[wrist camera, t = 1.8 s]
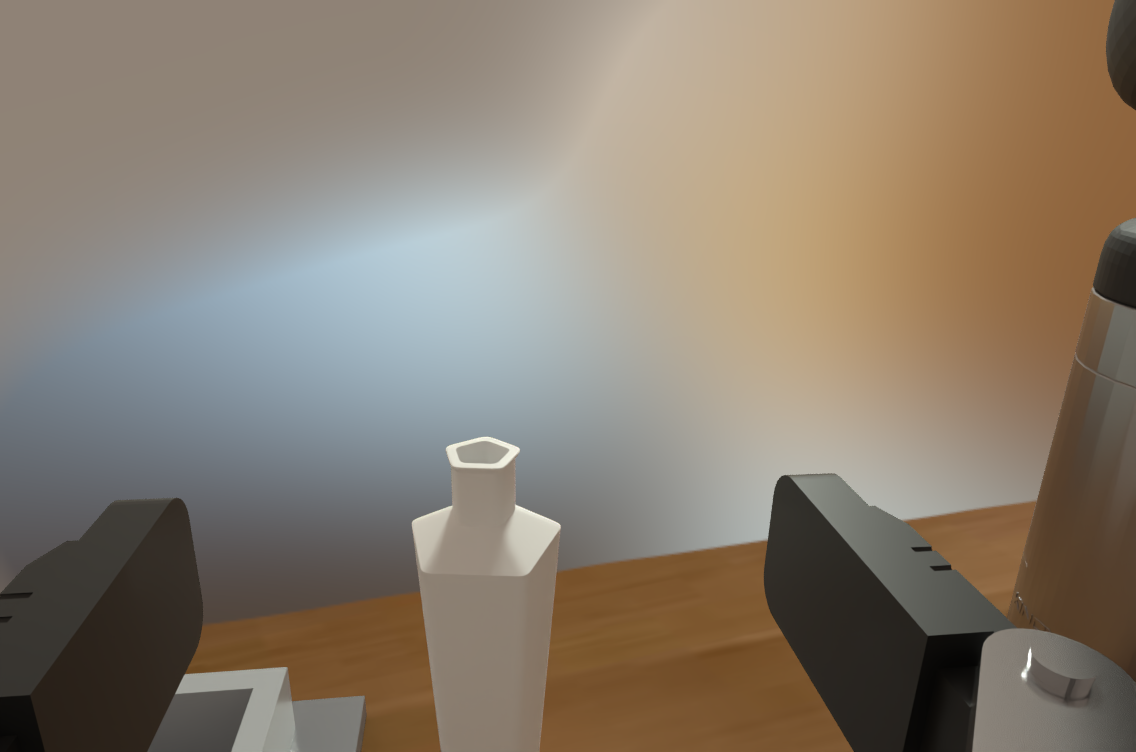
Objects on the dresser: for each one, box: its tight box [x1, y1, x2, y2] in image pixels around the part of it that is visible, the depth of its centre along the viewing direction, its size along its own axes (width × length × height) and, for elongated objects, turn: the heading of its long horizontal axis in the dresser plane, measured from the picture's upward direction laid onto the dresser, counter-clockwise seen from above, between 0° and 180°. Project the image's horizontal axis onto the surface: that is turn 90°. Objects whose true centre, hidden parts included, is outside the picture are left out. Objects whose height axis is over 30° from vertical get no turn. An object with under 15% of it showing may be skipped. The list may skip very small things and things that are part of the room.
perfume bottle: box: [412, 437, 561, 752], centre depth 25 cm, size 5×4×15 cm
